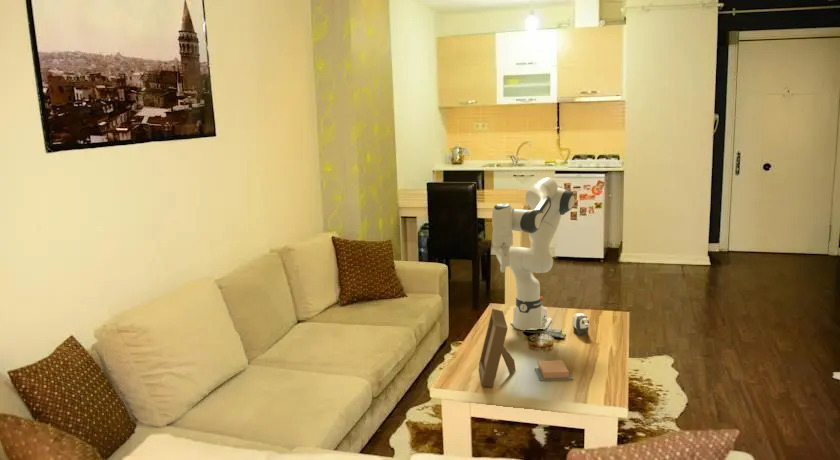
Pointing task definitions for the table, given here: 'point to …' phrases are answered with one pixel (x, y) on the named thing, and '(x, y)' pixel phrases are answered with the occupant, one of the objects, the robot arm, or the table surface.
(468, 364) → the table surface
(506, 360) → the photo frame
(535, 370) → the mat
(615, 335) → the table surface
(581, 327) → the giant panda
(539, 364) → the tile
